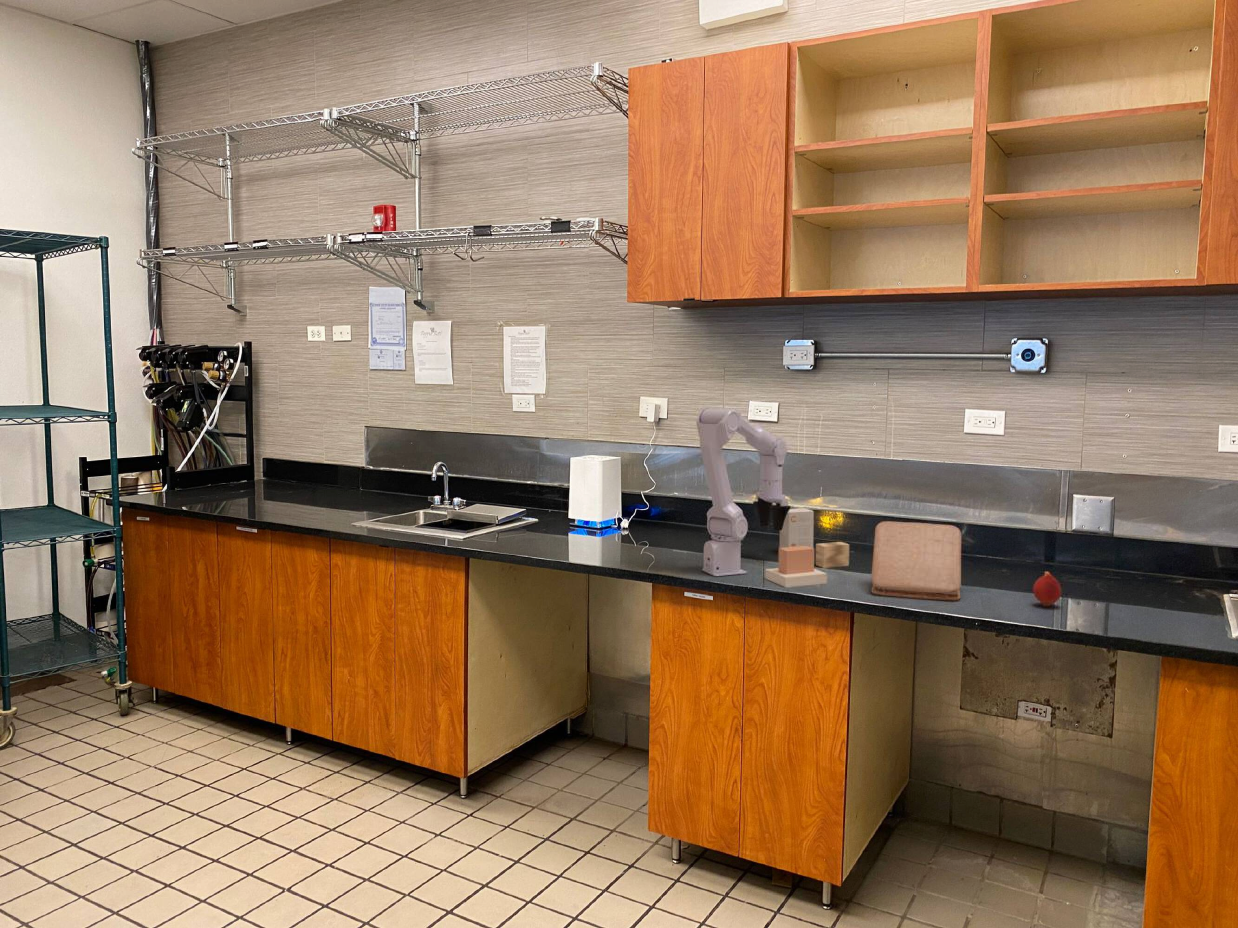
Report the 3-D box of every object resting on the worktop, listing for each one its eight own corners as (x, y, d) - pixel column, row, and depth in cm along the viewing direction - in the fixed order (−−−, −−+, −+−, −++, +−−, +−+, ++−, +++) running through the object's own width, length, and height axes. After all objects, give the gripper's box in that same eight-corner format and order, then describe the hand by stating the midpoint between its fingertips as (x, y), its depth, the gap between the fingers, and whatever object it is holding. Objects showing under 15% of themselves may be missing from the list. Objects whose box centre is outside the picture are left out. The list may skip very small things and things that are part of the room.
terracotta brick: (786, 574, 225) (786, 551, 224) (778, 571, 229) (778, 548, 228) (813, 571, 228) (814, 548, 227) (805, 568, 231) (805, 545, 231)
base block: (785, 589, 222) (785, 577, 222) (765, 580, 231) (765, 569, 231) (826, 585, 226) (827, 573, 226) (805, 576, 235) (805, 565, 235)
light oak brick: (823, 568, 243) (824, 546, 243) (815, 565, 247) (816, 543, 246) (848, 565, 246) (849, 544, 245) (840, 562, 250) (840, 541, 249)
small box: (804, 550, 266) (804, 507, 265) (813, 555, 260) (814, 510, 258) (778, 552, 264) (779, 508, 263) (787, 556, 258) (788, 512, 256)
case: (869, 596, 214) (871, 530, 212) (875, 576, 233) (877, 516, 231) (960, 604, 207) (963, 536, 205) (959, 583, 226) (962, 521, 225)
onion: (1052, 602, 206) (1054, 568, 206) (1065, 609, 201) (1067, 574, 200) (1027, 602, 206) (1029, 568, 205) (1040, 609, 201) (1041, 574, 200)
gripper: (798, 482, 244) (797, 531, 246) (771, 476, 258) (770, 522, 259) (775, 483, 242) (774, 533, 243) (749, 477, 255) (749, 524, 257)
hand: (771, 528), depth 251 cm, fingers open, 7 cm apart
